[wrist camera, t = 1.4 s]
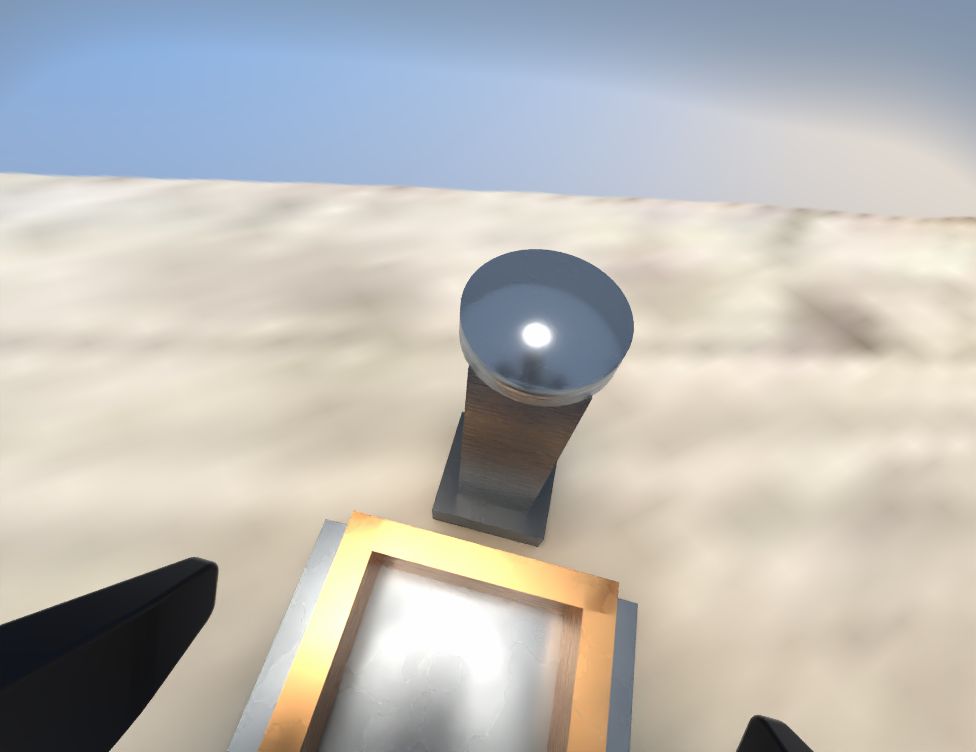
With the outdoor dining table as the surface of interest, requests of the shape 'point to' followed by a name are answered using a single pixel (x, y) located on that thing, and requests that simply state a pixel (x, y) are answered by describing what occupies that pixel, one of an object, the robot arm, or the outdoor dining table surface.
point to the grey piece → (527, 384)
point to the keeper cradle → (442, 651)
